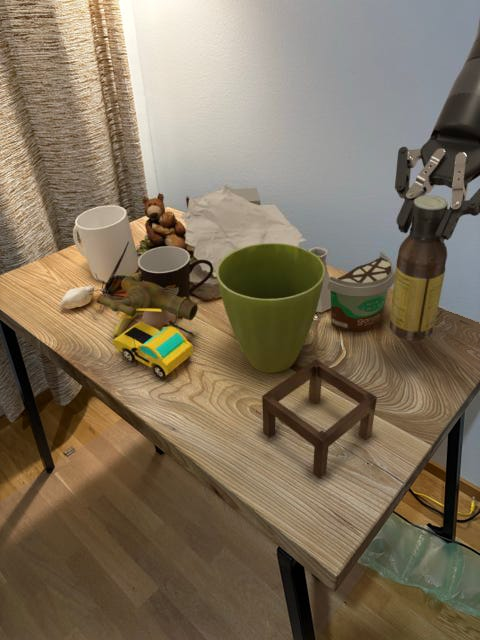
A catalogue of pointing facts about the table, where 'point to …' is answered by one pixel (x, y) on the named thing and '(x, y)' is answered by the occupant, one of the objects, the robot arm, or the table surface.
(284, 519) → the table surface
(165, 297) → the action figure
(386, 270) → the food container
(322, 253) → the flask
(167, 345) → the toy car
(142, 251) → the bear figurine
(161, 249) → the coffee mug
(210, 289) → the ceramic tile fragment
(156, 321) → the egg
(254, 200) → the toy
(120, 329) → the banana
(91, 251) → the mug
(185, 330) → the stick
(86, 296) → the dumpling
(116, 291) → the butterfly
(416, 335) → the sauce bottle
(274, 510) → the table surface
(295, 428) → the open square stand
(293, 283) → the flower pot
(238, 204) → the paper
